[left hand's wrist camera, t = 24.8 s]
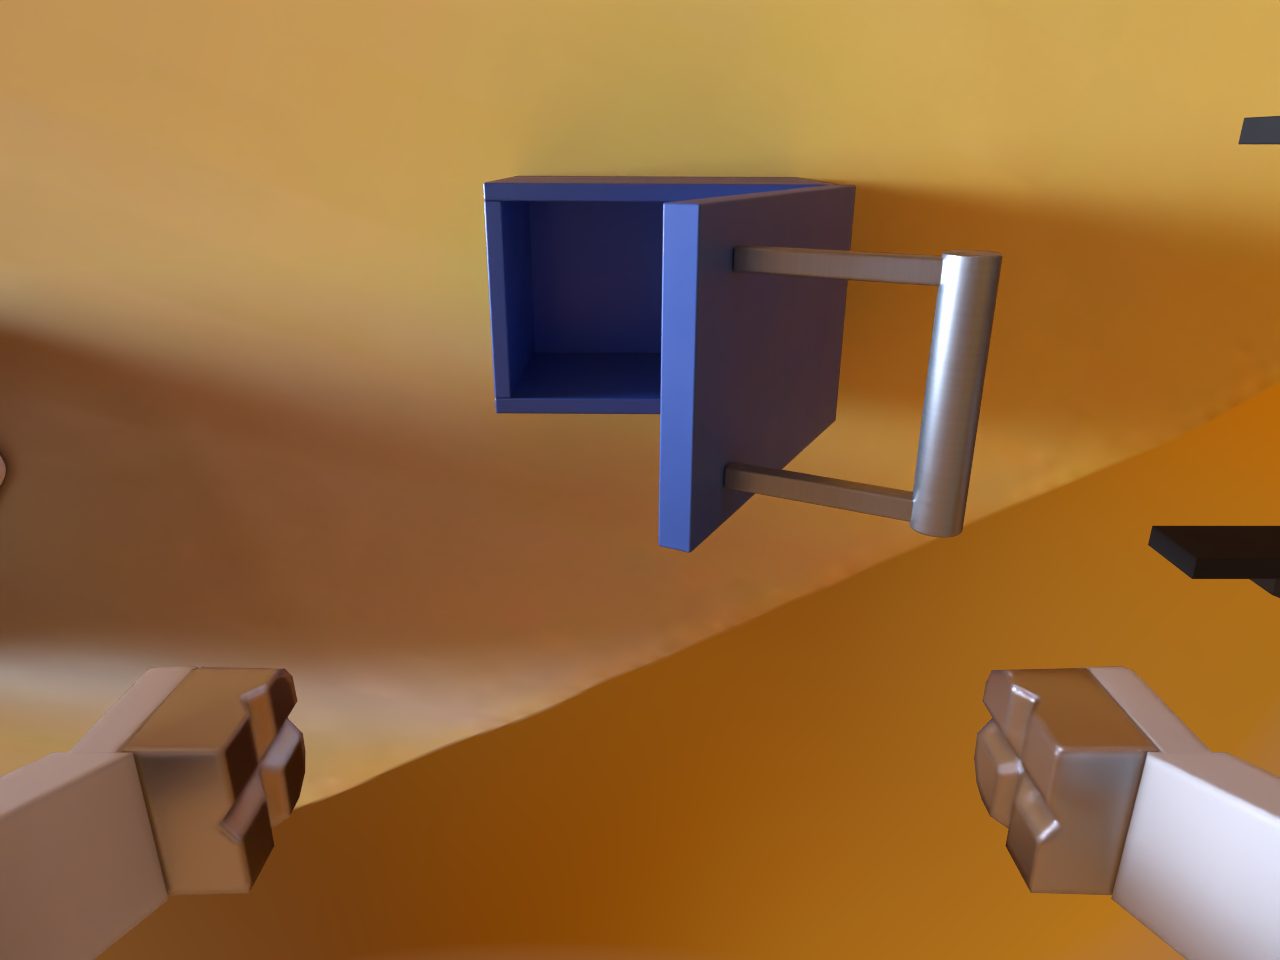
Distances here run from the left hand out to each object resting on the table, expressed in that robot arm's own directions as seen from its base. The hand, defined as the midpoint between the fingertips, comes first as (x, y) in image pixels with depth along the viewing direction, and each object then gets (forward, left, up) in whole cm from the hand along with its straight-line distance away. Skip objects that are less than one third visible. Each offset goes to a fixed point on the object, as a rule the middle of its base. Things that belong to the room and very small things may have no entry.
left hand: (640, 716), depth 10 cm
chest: (0, -1, -40) cm, 40 cm away
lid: (+2, -4, -22) cm, 22 cm away
